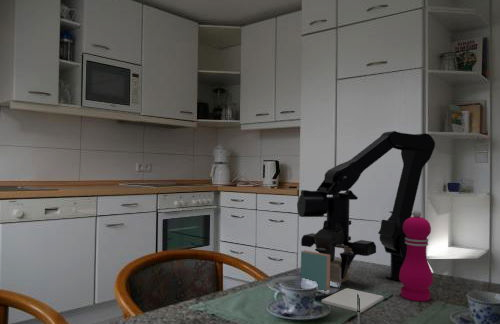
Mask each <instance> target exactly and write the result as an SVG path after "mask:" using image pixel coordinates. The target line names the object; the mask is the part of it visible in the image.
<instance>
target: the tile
mask: <svg viewBox="0 0 500 324" xmlns="http://www.w3.org/2000/svg"><path fill="white" fill-rule="evenodd" d="M300 259H301V260H300V279H301V278H305V279H309V280H312V281H316V282H317V284H318V290H324V291H327V290H329V289H330V288H331V287H330V255H329V254H323V253H319V252H318V251H309V250H305V249H304V250H301V251H300Z"/></svg>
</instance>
